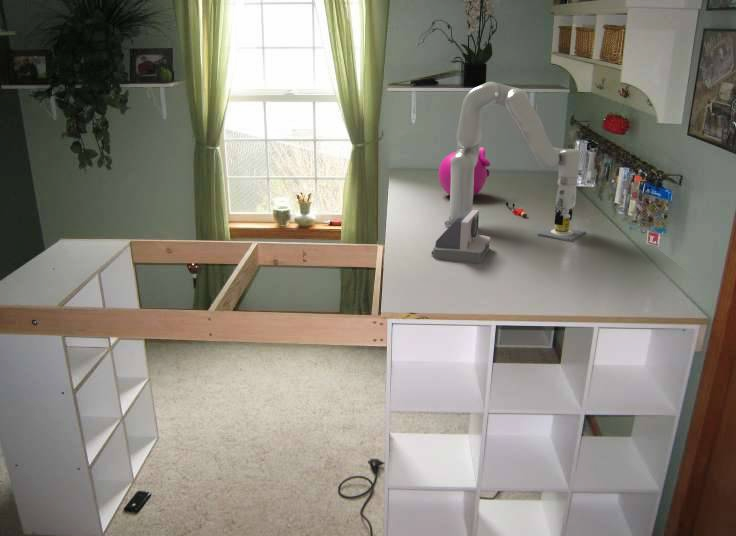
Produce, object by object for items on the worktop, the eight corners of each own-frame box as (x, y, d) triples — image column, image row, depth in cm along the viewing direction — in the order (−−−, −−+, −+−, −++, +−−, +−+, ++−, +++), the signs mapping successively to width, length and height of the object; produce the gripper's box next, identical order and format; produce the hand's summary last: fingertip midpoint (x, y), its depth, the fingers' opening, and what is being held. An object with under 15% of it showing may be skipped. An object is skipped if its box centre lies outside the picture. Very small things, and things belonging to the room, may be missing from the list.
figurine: (496, 198, 326) (499, 148, 317) (459, 205, 313) (462, 152, 305) (464, 189, 344) (466, 141, 336) (428, 195, 331) (430, 145, 323)
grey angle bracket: (476, 266, 232) (479, 225, 227) (423, 256, 242) (425, 217, 237) (497, 250, 249) (500, 212, 244) (447, 241, 259) (448, 204, 254)
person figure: (515, 199, 307) (529, 209, 291) (516, 207, 309) (531, 217, 292) (504, 203, 307) (518, 212, 290) (506, 210, 309) (520, 221, 292)
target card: (571, 241, 259) (571, 239, 259) (537, 235, 267) (537, 233, 267) (585, 232, 271) (585, 230, 271) (553, 226, 279) (553, 224, 279)
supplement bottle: (566, 234, 265) (568, 211, 262) (552, 232, 268) (555, 209, 265) (570, 231, 270) (572, 208, 266) (557, 229, 272) (559, 206, 269)
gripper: (568, 185, 253) (563, 228, 259) (584, 178, 266) (579, 219, 272) (549, 183, 257) (545, 225, 263) (566, 175, 270) (562, 216, 276)
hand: (563, 222), depth 267 cm, fingers open, 9 cm apart
